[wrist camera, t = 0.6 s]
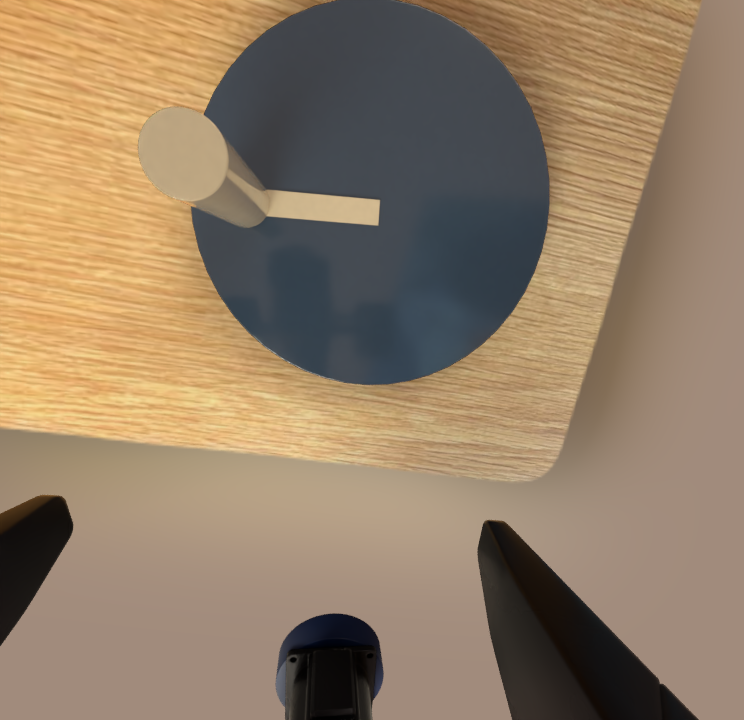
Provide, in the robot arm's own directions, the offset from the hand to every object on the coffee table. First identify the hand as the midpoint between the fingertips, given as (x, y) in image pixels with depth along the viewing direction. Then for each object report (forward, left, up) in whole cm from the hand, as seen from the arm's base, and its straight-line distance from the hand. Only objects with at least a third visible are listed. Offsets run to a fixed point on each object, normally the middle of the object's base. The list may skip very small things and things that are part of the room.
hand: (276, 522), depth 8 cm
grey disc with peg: (+8, -3, -14) cm, 16 cm away
